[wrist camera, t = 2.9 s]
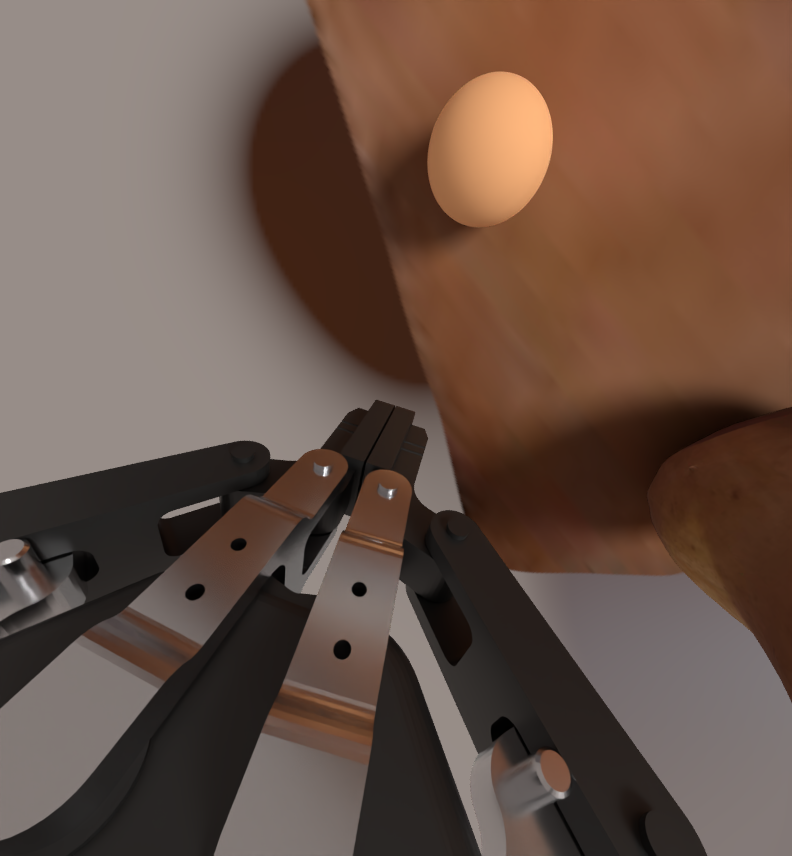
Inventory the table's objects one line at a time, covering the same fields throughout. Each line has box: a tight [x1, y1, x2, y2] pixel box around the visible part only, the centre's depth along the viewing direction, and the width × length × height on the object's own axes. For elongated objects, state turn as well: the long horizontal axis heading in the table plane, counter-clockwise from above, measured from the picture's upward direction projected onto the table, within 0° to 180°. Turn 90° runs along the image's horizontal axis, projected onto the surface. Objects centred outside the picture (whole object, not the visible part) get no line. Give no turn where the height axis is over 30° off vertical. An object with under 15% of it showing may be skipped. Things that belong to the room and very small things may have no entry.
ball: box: [427, 72, 553, 228], centre depth 17 cm, size 6×6×6 cm
